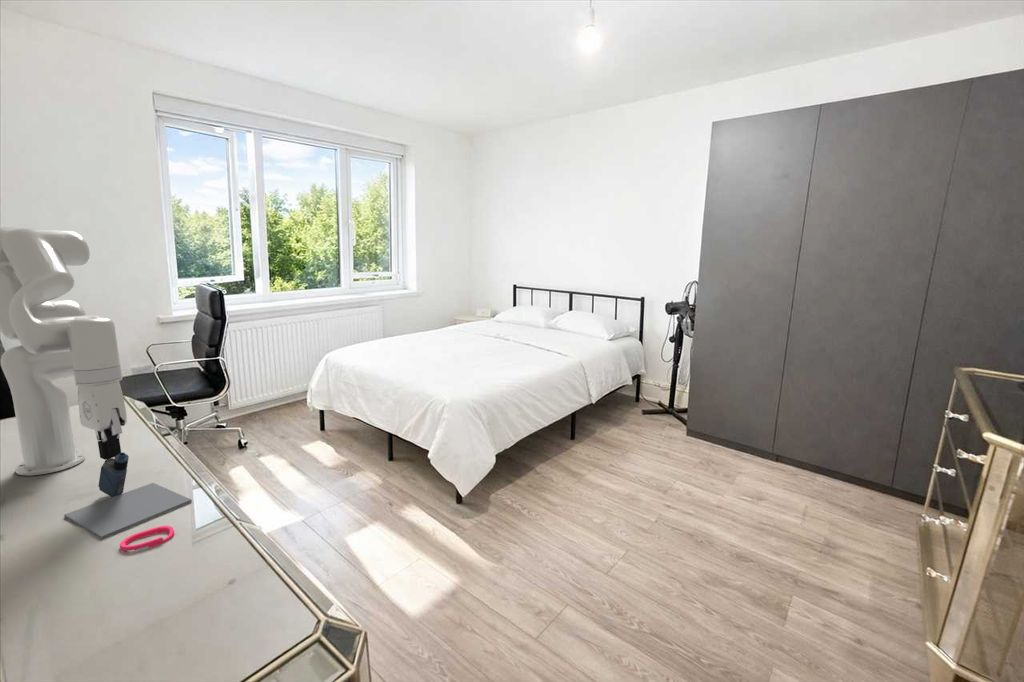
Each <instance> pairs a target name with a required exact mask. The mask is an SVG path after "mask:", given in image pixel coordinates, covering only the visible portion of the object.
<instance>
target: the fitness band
mask: <svg viewBox="0 0 1024 682" xmlns="http://www.w3.org/2000/svg"><path fill="white" fill-rule="evenodd" d="M160 533H168V535H167V536H166V537H165V538H164V537H163V536H159V537H156V538H154V539H150V540H148V541H145V542H141V543H137V544H132V545H131V544H130V543H132V542H134V541H136V540H140V539H142V538H145V537H150V536H152V535H155V534H160ZM174 536H175V530H174V528H173V527H172V526H171V525H160V526H156V527H151V528H149V529H146V530H143V531H140V532H137V533H133V534H131V535H129V536H126V537H125V538H124V539H123V540H122V541H120V543H119V548H120V550H121V551H122V552H123V551H124V552H128V551H129V552H130V551H134V553H137V552H141V551H144V550H147V549H151V548H155V547H157V546H160V545H163V544H165V543H166V542H168V541H169V542H170V541H171V539H173V538H174Z"/></svg>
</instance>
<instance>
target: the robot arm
mask: <svg viewBox="0 0 1024 682" xmlns="http://www.w3.org/2000/svg"><path fill="white" fill-rule="evenodd" d="M90 253H91V252H90V248H89V246H88V243H87V241H86V240H85V239H84V237H83V236H82V235H81V234H79V233H77V232H75V231H72V230H66V229H65V230H63V229H47V228H46V229H44V228H43V229H42V228H29V227H27V228H26V227H11V226H0V332H1V333H2V335H3V336H4V337H5V338H7V339H9V340H13V341H14V340H15V341H19V343H20V344H21V345H16V346H13V347H11V348H9V349H7V350H6V351H4V352H3V353H2V354H1V357H0V367H1V369H2V372H3V374H4V377H5V379H6V381H7V384H8V387H9V389H10V394H11V396H12V402H13V409H14V414H15V421H16V425H17V431H18V437H19V443H20V448H21V449H20V451H21V455H22V461H23V462H21V463H20V464H18V465H17V466H16V467H15V473H16V474H17V475H19V476H39V475H40V476H41V475H46V474H52V473H56V472H59V471H60V472H61V471H64V470H66V469H70V468H72V467H75V466H77V465H78V464H81V463H82V462H83V461H85V459H86V456H85V453H84V452H82V451H78V450H77V451H76V443H75V437H74V431H73V425H72V424H73V423H72V417H71V413H70V412H71V411H70V404H69V398H68V395H67V393H66V392H65V391H64V390H62V389H61V388H59V387H58V386H57V385H55V384H53V383H52V382H53V381H55V380H60V379H66V378H72V377H74V381H75V386H77V402H78V403H77V404H78V413H79V421H80V422H79V423H80V425H81V426H82V427H84V428H87V429H91V430H94V433H95V437H96V439H97V447H98V453H99V457H100V459H103V460H104V461H105V460H107V459H110V458H113V459H114V458H115V456H116V455H118V454H120V453H122V449H121V447H122V446H121V441H120V434H123V429H122V427H123V426H126V424H127V422H128V421H127V420H128V418H127V409H126V404H125V399H124V394H123V391H122V387H121V383H120V382H121V381H122V380H123V374H122V368H121V361H120V354H119V353H120V352H119V348H118V347H119V346H118V341H117V333H116V327H115V323H114V321H113V320H112V319H110V318H107V317H101V316H99V315H93V314H92V315H91V314H89V315H88V314H86V310H84V308H83V307H82V305H80V304H79V303H78V302H77V301H75V300H71V299H58V298H60V297H62V296H65V295H66V294H67V293H69V292H71V290H72V289H73V288H74V285H75V279H74V277H73V275H72V274H71V272H70V270H69V268H68V266H71V267H73V266H77V267H78V266H84V265H85V264H87V263H88V261H89V259H90V256H91V255H90Z"/></svg>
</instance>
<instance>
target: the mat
mask: <svg viewBox="0 0 1024 682" xmlns="http://www.w3.org/2000/svg"><path fill="white" fill-rule="evenodd" d="M192 502H193V501H192V499H191V498H189V497H187V496H184V495H182V494H179V493H177V492H175V491H174V490H171V489H168V488H167V487H163V486H161V485H159V484H157V483H155V482H151V483H147V484H145V485H142V486H141V487H140V486H139V487H137V488H134V489H132V490H129V491H126V492H123V493H122V494H120V495H117V496H114V497H109V498H107V499H106V498H105V499H103V500H101V501H97V502H95V503H92V504H90V505H89V504H88V505H87V506H84V507H82V508H78V509H76V510H73V511H69V512H67V513H64V514H63V516H64V518H65V519H67V520H69V521H71V522H72V523H73V524H75V525H77V526H78V527H80V528H82V529H84V530H85V531H87V532H89V533H90V534H92V535H94V536H95V537H97V538H98V539H100V540H104V539H106V538H109V537H111V536H113V535H115V534H118V533H120V532H123V531H125V530H128V529H130V528H133V527H135V526H137V525H140V524H142V523H145V522H146V521H150V520H152V519H154V518H157V517H159V516H162V515H164V514H167V513H169V512H171V511H174V510H176V509H179V508H181V507H183V506H186V505H187V504H190V503H192Z"/></svg>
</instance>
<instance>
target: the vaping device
mask: <svg viewBox="0 0 1024 682" xmlns="http://www.w3.org/2000/svg"><path fill="white" fill-rule="evenodd" d="M128 462H129V455H128V454H127V453H125V452H121V453H120V454H118V455H116V456H115V457H113V458H110V459H106V460H104V462H103V464H102V466H101V467H100V472H99V473H100V474H99V478H98V479H99V481H98V488H99V491H100V492H102V493H104V494H105V495H107V496H109V498H112V497H114V496H117V495H120V494H123V493H124V489H125V482H126V477H127V471H128V464H129V463H128Z"/></svg>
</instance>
